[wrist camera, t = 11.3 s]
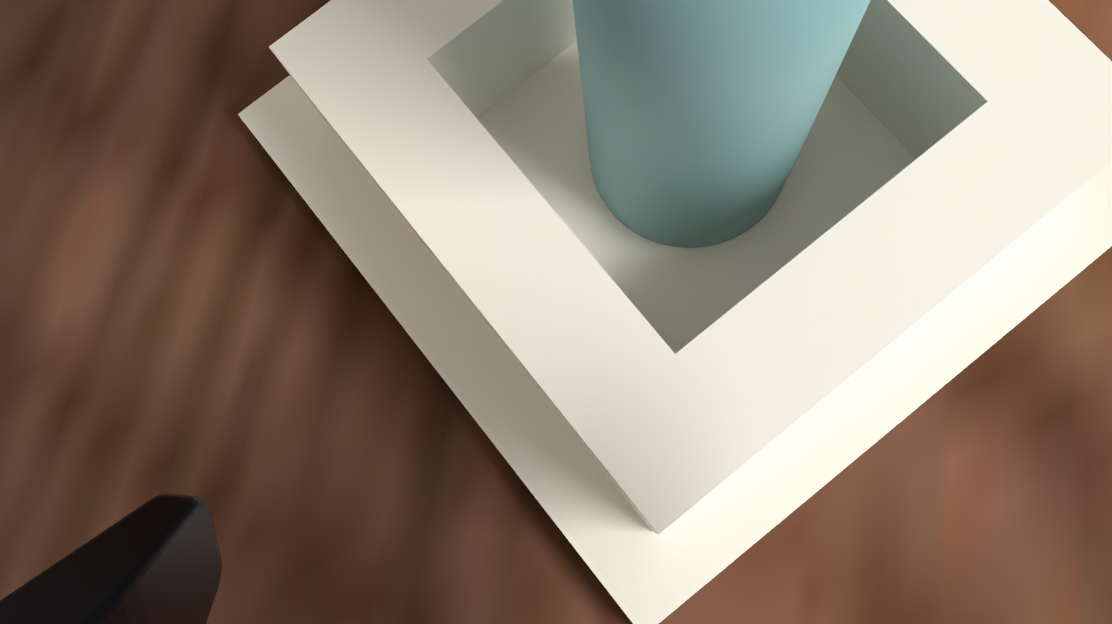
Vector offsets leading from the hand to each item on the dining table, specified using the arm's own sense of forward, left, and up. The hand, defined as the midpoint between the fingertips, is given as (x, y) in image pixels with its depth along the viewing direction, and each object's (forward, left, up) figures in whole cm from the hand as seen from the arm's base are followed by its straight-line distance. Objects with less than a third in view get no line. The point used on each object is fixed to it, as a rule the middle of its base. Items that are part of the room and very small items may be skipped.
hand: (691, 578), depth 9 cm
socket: (+5, +5, -8) cm, 11 cm away
